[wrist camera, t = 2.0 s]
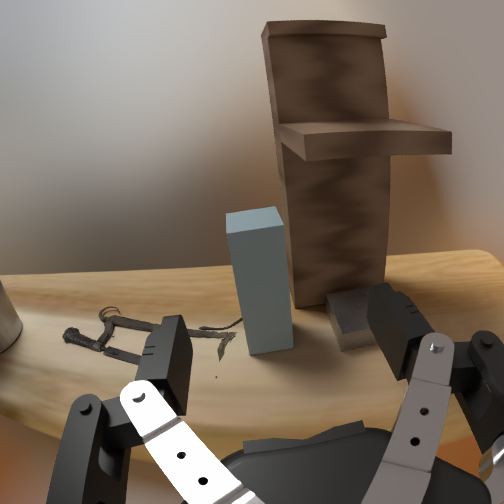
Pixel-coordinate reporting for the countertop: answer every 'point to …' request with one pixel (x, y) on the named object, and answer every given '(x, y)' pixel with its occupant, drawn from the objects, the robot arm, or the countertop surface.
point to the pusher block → (261, 278)
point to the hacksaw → (98, 345)
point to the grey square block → (350, 318)
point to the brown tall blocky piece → (335, 151)
